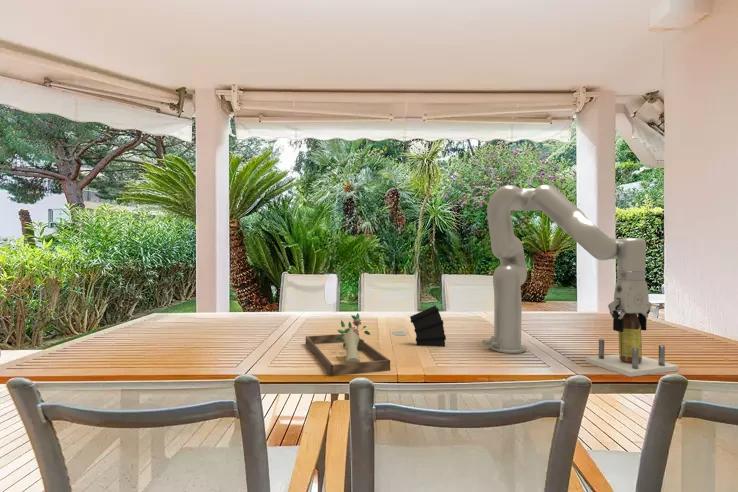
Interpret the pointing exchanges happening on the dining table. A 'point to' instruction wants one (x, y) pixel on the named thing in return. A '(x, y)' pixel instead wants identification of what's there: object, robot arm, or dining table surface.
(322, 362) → the wooden frame
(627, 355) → the sauce bottle
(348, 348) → the flower vase
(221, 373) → the dining table surface
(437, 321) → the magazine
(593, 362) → the standoff base
